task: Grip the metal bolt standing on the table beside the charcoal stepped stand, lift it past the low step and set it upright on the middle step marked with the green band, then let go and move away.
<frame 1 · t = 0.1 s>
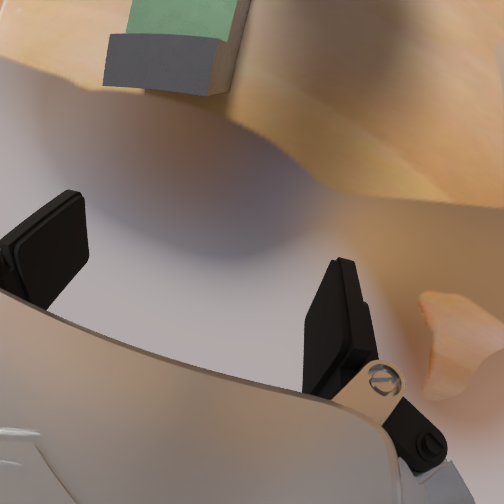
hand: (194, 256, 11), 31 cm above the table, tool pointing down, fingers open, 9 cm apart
stepped stand: (199, 15, 30), on the table
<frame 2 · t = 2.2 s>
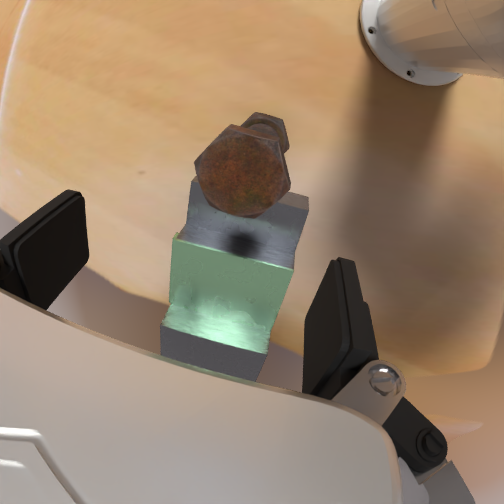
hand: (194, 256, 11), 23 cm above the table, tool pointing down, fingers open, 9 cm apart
stepped stand: (237, 256, 38), on the table
bolt: (267, 129, 30), on the table
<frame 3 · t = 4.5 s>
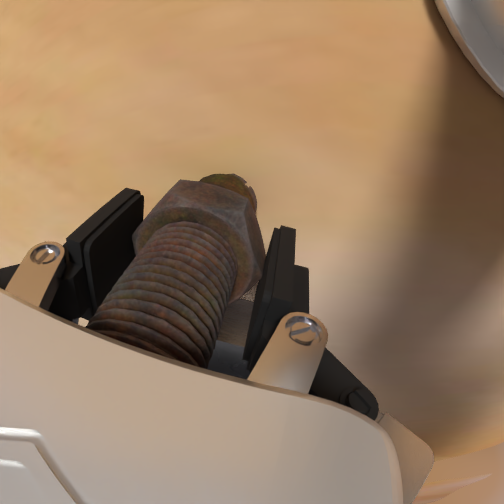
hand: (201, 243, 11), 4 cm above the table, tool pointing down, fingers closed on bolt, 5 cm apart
stepped stand: (195, 377, 24), on the table
bolt: (226, 197, 15), on the table, touching gripper
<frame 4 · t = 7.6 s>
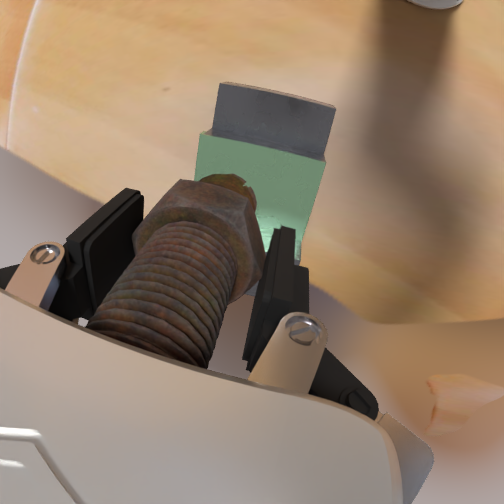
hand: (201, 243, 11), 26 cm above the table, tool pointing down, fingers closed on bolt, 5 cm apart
stepped stand: (262, 171, 36), on the table
bolt: (226, 197, 15), point 22 cm above the table, touching gripper
when the fingers open (12 cm above the table, at t = 10.8 s): bolt drops 1 cm, resting on stepped stand.
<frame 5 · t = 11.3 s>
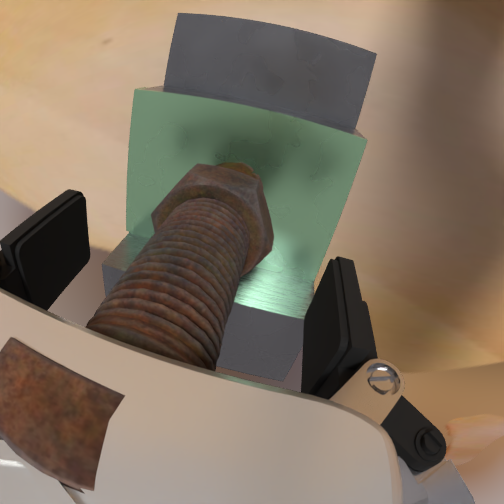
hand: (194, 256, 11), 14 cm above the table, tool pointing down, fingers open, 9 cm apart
stepped stand: (248, 161, 22), on the table
bolt: (234, 185, 16), point 7 cm above the table, touching stepped stand
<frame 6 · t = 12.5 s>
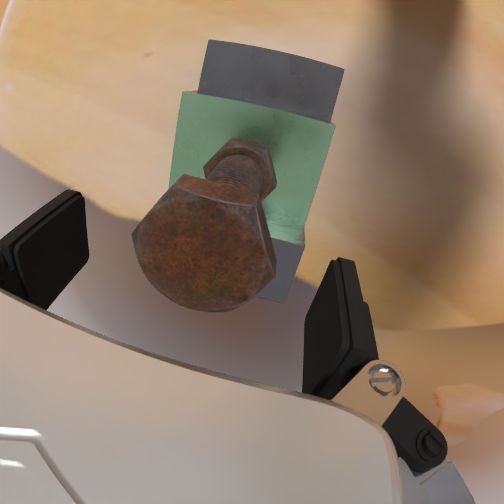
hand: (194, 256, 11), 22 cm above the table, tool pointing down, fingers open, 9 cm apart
stepped stand: (255, 147, 30), on the table
bolt: (249, 157, 24), point 7 cm above the table, touching stepped stand
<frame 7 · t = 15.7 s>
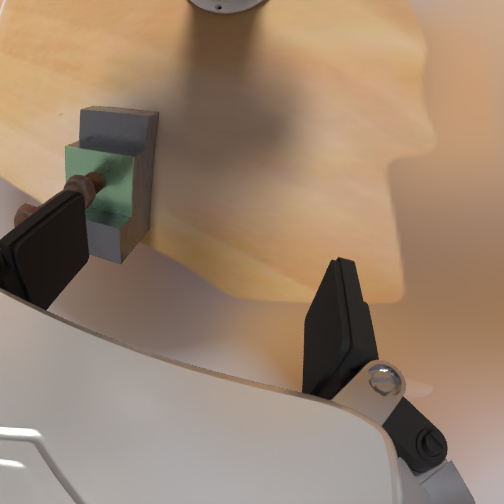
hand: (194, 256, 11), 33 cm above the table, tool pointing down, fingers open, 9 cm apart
stepped stand: (120, 168, 45), on the table
bolt: (97, 179, 39), point 7 cm above the table, touching stepped stand
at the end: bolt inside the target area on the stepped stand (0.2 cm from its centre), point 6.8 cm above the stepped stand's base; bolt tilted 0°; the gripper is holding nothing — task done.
